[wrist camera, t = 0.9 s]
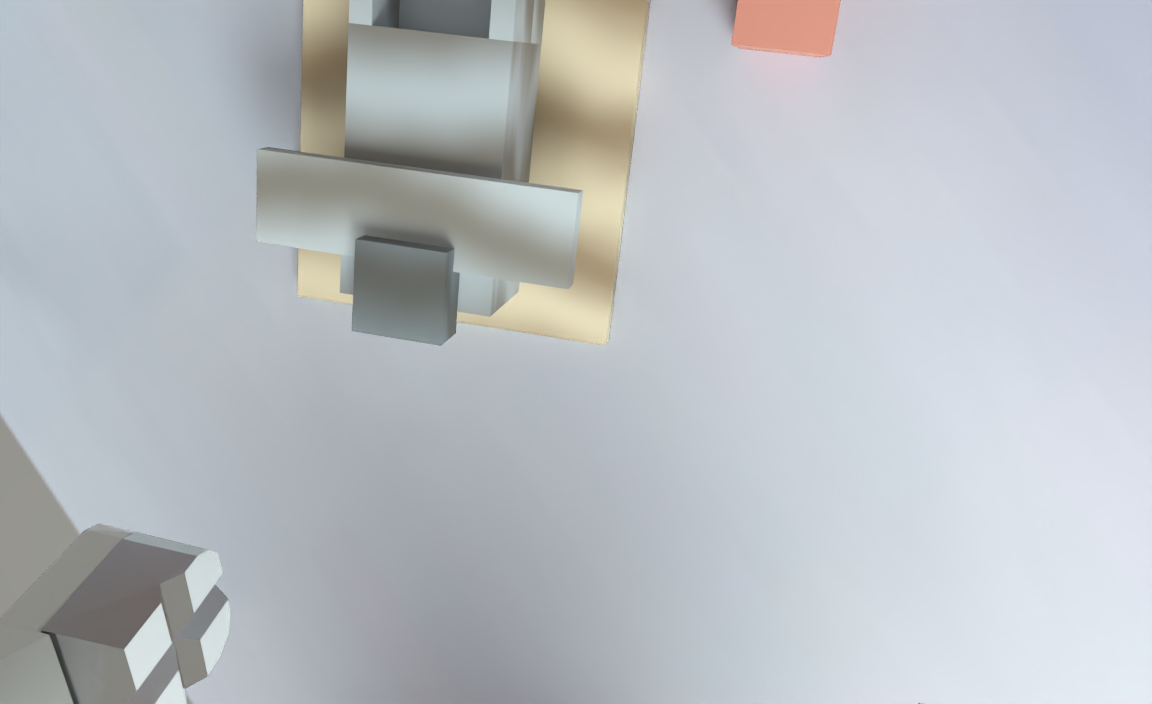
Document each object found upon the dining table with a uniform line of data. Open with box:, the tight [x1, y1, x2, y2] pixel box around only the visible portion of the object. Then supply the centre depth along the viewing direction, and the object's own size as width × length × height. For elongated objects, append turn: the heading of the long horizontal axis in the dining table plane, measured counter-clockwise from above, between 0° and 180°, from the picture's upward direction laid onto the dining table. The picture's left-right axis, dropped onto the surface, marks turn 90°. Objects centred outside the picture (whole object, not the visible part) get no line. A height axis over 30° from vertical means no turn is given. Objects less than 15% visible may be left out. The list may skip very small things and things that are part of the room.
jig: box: [256, 0, 651, 346], centre depth 42 cm, size 22×16×8 cm
